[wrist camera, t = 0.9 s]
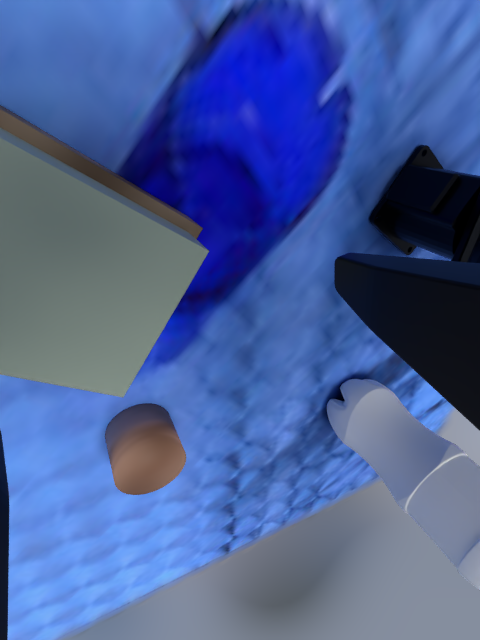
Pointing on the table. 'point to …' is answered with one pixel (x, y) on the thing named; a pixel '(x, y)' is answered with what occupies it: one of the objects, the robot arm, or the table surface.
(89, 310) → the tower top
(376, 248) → the table surface
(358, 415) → the water bottle
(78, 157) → the tower base
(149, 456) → the puck
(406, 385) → the table surface
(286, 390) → the table surface
